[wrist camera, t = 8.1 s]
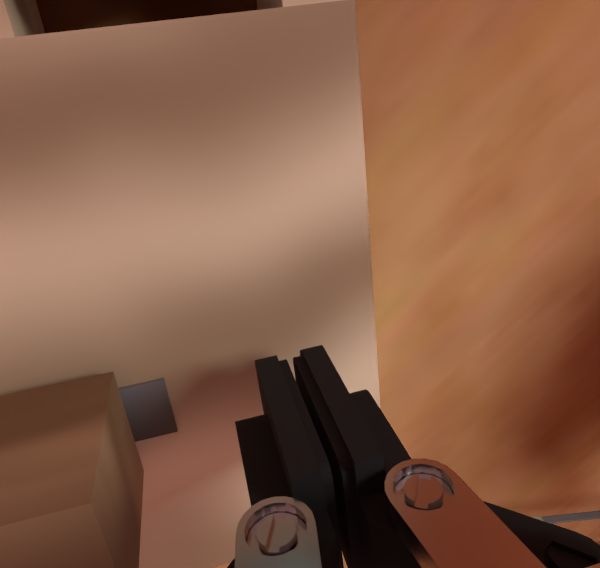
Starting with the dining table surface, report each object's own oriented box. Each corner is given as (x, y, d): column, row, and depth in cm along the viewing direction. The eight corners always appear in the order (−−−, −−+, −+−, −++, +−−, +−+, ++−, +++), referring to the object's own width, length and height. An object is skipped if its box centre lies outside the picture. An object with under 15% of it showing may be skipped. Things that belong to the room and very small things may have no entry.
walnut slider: (-28, 402, 11) (-114, 556, 8) (113, 371, 12) (90, 503, 8) (18, 502, 13) (-39, 674, 9) (143, 470, 13) (135, 622, 10)
